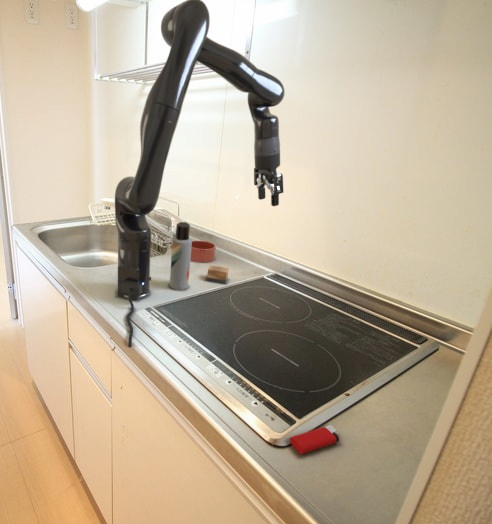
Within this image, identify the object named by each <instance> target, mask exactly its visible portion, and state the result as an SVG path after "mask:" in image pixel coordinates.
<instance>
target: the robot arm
mask: <svg viewBox="0 0 492 524" xmlns="http://www.w3.org/2000/svg"><path fill="white" fill-rule="evenodd" d="M210 18H211V17H210V12H209V9H208V7H207V5H206V4H205V2H204V1H203V0H184V1H182V2H181V3H179V4H177V5H175V6H174V7H172V8H170V9H169V10H168V11H167V12H166V13H165V14H164V15H163V17H162V19H161V22H160V32H161V37H162V39H163V41H164V42H165V44H167V46H169V47H170V49H169V53H168V56H167V58H166V61H165V63H164V65H163V67H162V68H161V71H160V72H159V74H158V75H157V78H156V79H155V81H154V82H153V84H152V86H151V88H150V90H149V92H148V94H147V96H146V100H145V102H144V106H143V110H142V112H141V113H142V114H141V117H140V123H139V124H140V125H139V140H140V158H139V163H138V165H137V170H136V171H135V172H136V173H135V175H134V176H131V175H130V176H129V175H128V176H126V177H123V178H122V179H120V180H119V182H118V183H117V185H116V187H115V192H114V217H115V219H114V220H115V227H116V229H117V235H118V236H117V297H119V298H124V299H128V303H129V304H130V312H129V313H127V315H126V322H127V325H128V327H129V335H128V341H127V342H128V343H127V344H128V345H127V347H128V349H129V348H132V343H133V335H134V328H133V324H132V322H131V319H130V317H131V315H132V314H133V313H134V311H135V305H134V303H133V301H132V300H134V301H138V300H140V299H144V298H146V297H148V296H149V295H150V290H151V289H150V282H152V277H151V252H152V251H151V250H152V226H151V224H150V223H149V222H148V219H147V216H146V215H149V214H151V212H152V211H154V209H155V207H156V206H157V203H158V201H159V197H160V193H161V187H162V182H163V177H164V171H165V168H166V164H167V160H168V156H169V153H170V149H171V146H172V142H173V138H174V135H175V133H176V130H177V126H178V123H179V121H180V120H179V119H180V116H181V113H182V109H183V106H184V103H185V98H186V96H187V92H188V90H189V89H188V88H189V85H190V82H191V79H192V76H193V73H194V69H195V66H196V64H197V62H198V63H200V64H201V65H203V66H205V67H206V68H208V69H209V70H211V71H212V72H214V73H215V74H217V75H218V76H220V77H221V78H222V79H223V80H225V81H226V82H227V83H228V84H230V85H231V86H232V87H234V88H235V89H236V90H238V91H239V92H242V93H245V94H246V93H247V105H248V109H249V113H250V115H251V120H252V122H253V134H254V142H253V153H254V154H253V156H254V167H253V185H254V186H256V189H257V196H258V197H257V199H258V200H260V201H261V200H264V199H266V188H267V189H268V190H269V192H270V198H271V199H270V205H271V206H272V207H278V206H279V205H280V195H281V194H284V174H283V173H278V172H277V169H278V168H280V166H281V140H280V119H279V117H278V115H276V114H273V113H272V112H271V111H270V108H272V107H276V106H278V105H279V104H280V103H282V101H283V100H284V98H285V87H284V84H283V82H282V81H281V80H280V79H278V78H277V76H274V75H273V74H270V73H269V72H266V71H264V70H262V69H260V68H258V67H257V66H256V65H255V64H253V62H251V61H250V60H249V59H248V58H247V57H245V56H244V55H243V54H241V53H240V52H238V51H236V50H235V49H232V48H230V47H228V46H225V45H223V44H221V43H218V42H217V41H215V40H213V39H211V38H210V37H208V33H209V31H210V22H211V19H210Z"/></svg>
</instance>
